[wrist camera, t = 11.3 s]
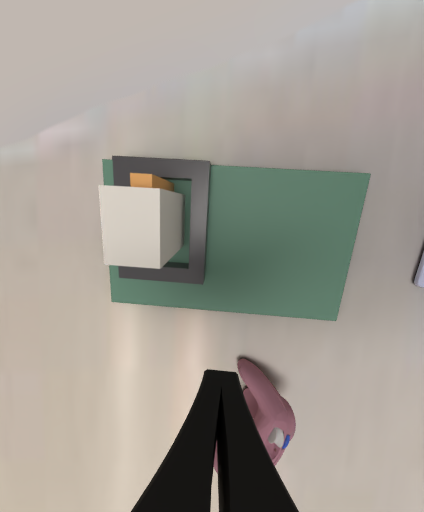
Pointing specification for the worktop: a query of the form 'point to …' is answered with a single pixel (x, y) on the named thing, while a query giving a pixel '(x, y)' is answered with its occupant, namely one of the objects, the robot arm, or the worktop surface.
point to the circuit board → (264, 243)
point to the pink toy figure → (266, 411)
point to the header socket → (198, 217)
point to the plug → (141, 222)
